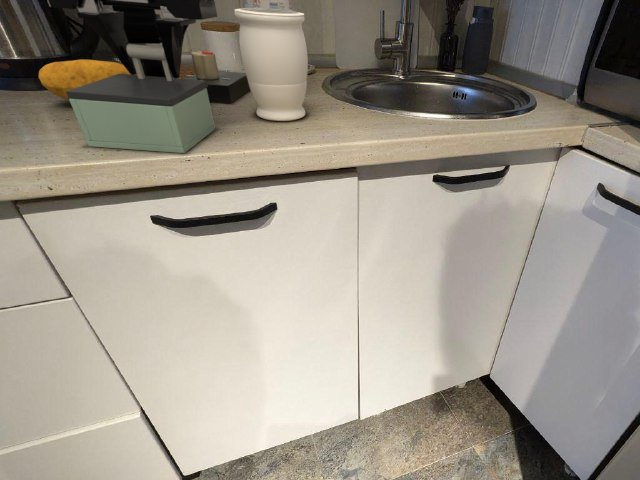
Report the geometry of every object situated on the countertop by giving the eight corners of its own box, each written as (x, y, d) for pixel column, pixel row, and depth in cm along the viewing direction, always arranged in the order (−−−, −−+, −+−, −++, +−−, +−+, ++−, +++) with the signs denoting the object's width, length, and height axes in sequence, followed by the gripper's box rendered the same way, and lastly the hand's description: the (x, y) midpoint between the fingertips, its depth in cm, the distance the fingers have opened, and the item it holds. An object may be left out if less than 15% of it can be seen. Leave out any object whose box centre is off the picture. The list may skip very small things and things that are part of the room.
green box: (133, 122, 61) (118, 80, 57) (215, 129, 61) (206, 87, 58) (88, 146, 52) (68, 98, 49) (184, 153, 53) (171, 106, 49)
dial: (191, 78, 74) (185, 51, 71) (205, 74, 77) (199, 48, 74) (210, 80, 73) (205, 53, 71) (223, 77, 76) (218, 51, 74)
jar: (272, 104, 75) (259, 6, 65) (321, 112, 73) (316, 12, 63) (237, 117, 67) (218, 8, 57) (292, 127, 65) (281, 15, 55)
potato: (143, 110, 66) (129, 64, 62) (45, 111, 62) (22, 61, 58) (150, 98, 72) (137, 55, 68) (60, 98, 68) (41, 53, 64)
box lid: (121, 79, 58) (107, 40, 55) (208, 86, 58) (199, 47, 55) (68, 98, 49) (48, 52, 46) (171, 106, 49) (159, 61, 46)
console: (204, 85, 82) (200, 68, 80) (251, 89, 83) (248, 72, 81) (179, 99, 73) (174, 80, 71) (231, 103, 73) (227, 84, 71)
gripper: (219, -63, 52) (240, 71, 62) (75, -76, 52) (120, 61, 62) (182, -71, 44) (214, 86, 54) (8, -87, 43) (73, 74, 53)
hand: (155, 75), depth 56 cm, fingers open, 6 cm apart
